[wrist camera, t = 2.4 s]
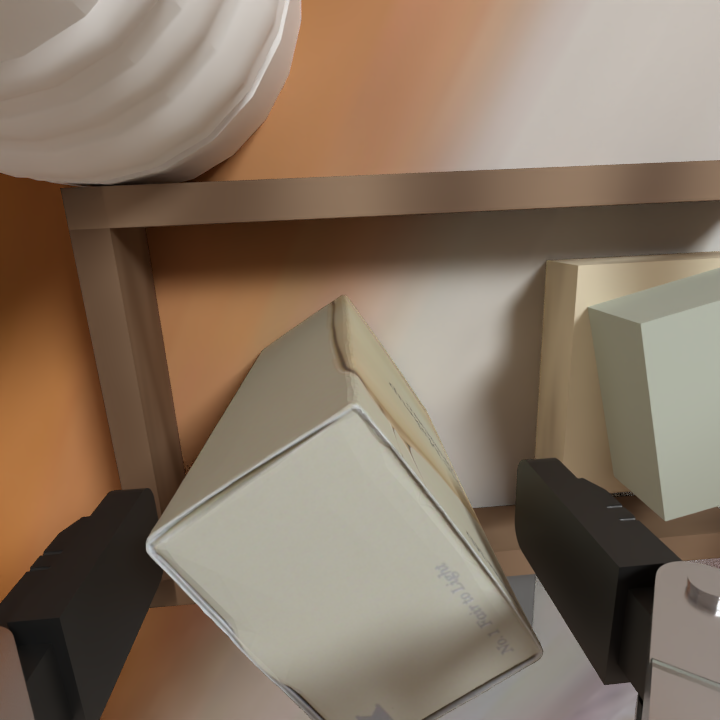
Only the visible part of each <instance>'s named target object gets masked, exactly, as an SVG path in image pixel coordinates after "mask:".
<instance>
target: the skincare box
mask: <svg viewBox="0 0 720 720" xmlns="http://www.w3.org/2000/svg"><path fill="white" fill-rule="evenodd" d="M146 552H147V553H148V554H149V556H150V557H151V558H152V559H153V560H154V561H155V562H156V563H157V564H158V565H159V566H160V567H161V568H162V569H163V570H164V571H165V572H166V573H167V574H168V575H169V576H170V577H171V578H172V579H173V580H174V581H175V582H176V583H177V584H178V585H179V587H180V588H181V589H182V590H183V591H184V592H185V593H186V594H187V595H188V596H189V597H190V598H191V599H192V600H193V601H194V602H195V603H196V604H197V605H198V606H199V607H200V608H201V609H202V610H203V612H204V613H205V614H206V615H207V616H209V617H210V618H211V619H212V620H213V621H214V623H215V624H216V625H217V626H218V627H219V628H220V629H221V630H222V631H223V632H224V633H225V634H226V635H227V636H228V637H229V638H230V639H231V640H232V641H233V642H234V644H235V645H236V646H237V647H238V648H239V649H240V650H241V651H242V652H243V653H244V654H245V655H246V656H247V657H248V658H249V659H250V660H251V661H252V662H253V663H254V664H255V665H256V666H257V667H258V668H259V669H260V670H261V671H262V672H263V673H264V674H265V675H266V676H267V677H268V678H269V679H270V680H271V681H272V682H274V683H275V684H276V685H277V686H278V687H279V688H280V689H281V690H282V691H283V692H284V693H285V694H286V695H287V696H288V697H289V698H290V699H291V700H293V701H294V702H295V703H296V704H297V705H298V707H299V708H301V709H302V710H303V711H304V712H305V713H306V714H307V715H308V716H309V717H310V718H311V719H312V720H436V719H437V718H440V717H442V716H443V715H445V714H447V713H448V712H450V711H452V710H454V709H456V708H457V707H458V706H461V705H463V704H464V703H466V702H468V701H469V700H472V699H474V698H475V697H477V696H479V695H480V694H482V693H484V692H486V691H487V690H489V689H490V688H492V687H493V686H494V685H496V684H498V683H500V682H502V681H503V680H505V679H507V678H509V677H510V676H512V675H514V674H516V673H517V672H519V671H521V670H522V669H524V668H526V667H527V666H529V665H531V664H533V663H535V662H536V661H538V660H539V659H540V658H541V657H542V655H543V649H542V647H541V645H540V642H539V640H538V638H537V637H536V635H535V633H534V631H533V629H532V627H531V625H530V623H529V621H528V619H527V617H526V615H525V613H524V611H523V610H522V608H521V606H520V604H519V602H518V600H517V598H516V596H515V594H514V592H513V590H512V588H511V586H510V584H509V582H508V580H507V578H506V576H505V574H504V572H503V570H502V568H501V566H500V564H499V562H498V560H497V558H496V555H495V553H494V551H493V549H492V547H491V545H490V543H489V541H488V539H487V537H486V535H485V533H484V531H483V529H482V526H481V524H480V522H479V520H478V518H477V516H476V514H475V512H474V510H473V508H472V506H471V504H470V502H469V500H468V498H467V496H466V494H465V491H464V489H463V487H462V485H461V483H460V481H459V479H458V477H457V475H456V473H455V471H454V469H453V466H452V464H451V462H450V460H449V458H448V456H447V454H446V451H445V449H444V447H443V445H442V443H441V441H440V439H439V436H438V434H437V432H436V430H435V428H434V426H433V424H432V422H431V419H430V417H429V415H428V413H427V411H426V409H425V408H424V406H423V405H422V404H421V402H420V401H419V399H418V398H417V396H416V395H415V393H414V392H413V390H412V389H411V387H410V386H409V384H408V383H407V381H406V380H405V378H404V377H403V375H402V374H401V372H400V371H399V369H398V368H397V366H396V365H395V363H394V362H393V361H392V359H391V358H390V356H389V355H388V353H387V352H386V350H385V349H384V348H383V346H382V345H381V343H380V342H379V341H378V339H377V338H376V336H375V335H374V333H373V332H372V331H371V329H370V328H369V326H368V325H367V324H366V322H365V321H364V320H363V318H362V317H361V315H360V314H359V313H358V311H357V310H356V308H355V307H354V306H353V304H352V303H351V301H350V300H349V298H348V297H347V296H346V295H342V296H340V297H339V298H337V299H336V300H334V301H333V302H331V303H330V304H328V305H327V306H325V307H324V308H322V309H321V310H319V311H318V312H316V313H315V314H313V315H312V316H310V317H309V318H307V319H306V320H304V321H303V322H302V323H300V324H299V325H297V326H296V327H294V328H293V329H291V330H290V331H289V332H287V333H286V334H284V335H283V336H281V337H280V338H279V339H277V340H276V341H275V342H273V343H272V344H270V345H269V346H268V347H266V348H265V349H263V350H262V352H261V353H260V355H259V356H258V358H257V360H256V361H255V363H254V365H253V366H252V368H251V369H250V371H249V373H248V375H247V376H246V378H245V379H244V381H243V382H242V384H241V386H240V388H239V389H238V391H237V393H236V394H235V396H234V398H233V399H232V401H231V402H230V404H229V406H228V407H227V409H226V411H225V412H224V414H223V416H222V417H221V419H220V420H219V422H218V424H217V425H216V427H215V429H214V430H213V432H212V434H211V435H210V437H209V439H208V440H207V442H206V444H205V445H204V447H203V448H202V450H201V452H200V453H199V455H198V457H197V458H196V460H195V462H194V464H193V465H192V467H191V468H190V470H189V472H188V473H187V475H186V476H185V478H184V480H183V481H182V483H181V484H180V486H179V488H178V490H177V491H176V493H175V495H174V496H173V498H172V499H171V501H170V502H169V504H168V506H167V507H166V509H165V511H164V512H163V514H162V515H161V517H160V519H159V520H158V522H157V523H156V525H155V526H154V528H153V529H152V531H151V533H150V534H149V536H148V538H147V540H146Z"/></svg>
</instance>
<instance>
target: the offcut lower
mask: <svg viewBox="0 0 720 720" xmlns="http://www.w3.org/2000/svg"><path fill="white" fill-rule="evenodd" d="M716 268H720V252H719V251H714V252H695V253H677V254H658V255H639V256H620V257H601V258H582V259H563V260H547V262H546V278H545V295H544V312H543V328H542V345H541V362H540V378H539V395H538V412H537V428H536V445H535V459H543V458H557V459H558V460H560V461H561V462H562V463H563V464H564V465H565V466H566V467H567V468H568V469H569V470H570V471H571V472H572V473H573V474H574V475H575V476H576V477H577V478H584V479H586V480H588V481H590V482H592V483H594V484H596V485H598V486H600V487H602V488H604V489H605V490H607V491H608V492H609V493H617V492H630V490H629V489H628V488H627V487H625V486H624V485H623V484H622V483H621V482H620V481H619V480H618V479H616V478H615V477H614V474H613V467H612V461H611V454H610V448H609V441H608V435H607V429H606V422H605V416H604V409H603V403H602V396H601V390H600V384H599V377H598V371H597V364H596V358H595V351H594V345H593V338H592V332H591V326H590V319H589V313H588V307H589V306H592V305H596V304H599V303H602V302H606V301H609V300H612V299H616V298H619V297H622V296H626V295H629V294H633V293H636V292H639V291H643V290H646V289H649V288H653V287H656V286H659V285H663V284H666V283H669V282H673V281H676V280H679V279H683V278H686V277H689V276H693V275H696V274H700V273H703V272H706V271H710V270H713V269H716Z"/></svg>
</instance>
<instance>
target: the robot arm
mask: <svg viewBox="0 0 720 720" xmlns="http://www.w3.org/2000/svg"><path fill="white" fill-rule="evenodd" d="M157 522H158V515H157V509H156V504H155V499H154V495H153V492H152V491H151V489H149V488H140V489H127V490H114V491H110V492H109V493H108V494H107V495H106V497H105V498H104V499H103V500H102V502H101V503H100V504H99V505H98V507H97V508H96V509H95V511H94V512H93V513H92V514H91V516H88V517H82V518H80V519H79V520H78V521H76V522H75V523H73V524H72V525H70V526H69V527H68V528H66V529H65V530H63V531H62V532H60V533H59V534H58V535H57V536H56V538H55V539H54V540H53V541H52V542H51V544H50V545H49V546H48V547H47V548H46V550H45V551H44V554H43V555H42V556H40V557H39V558H38V559H37V560H36V561H35V563H34V564H33V565H32V566H31V567H30V572H26V573H25V575H24V576H23V577H22V578H21V579H20V580H19V582H18V583H17V584H16V585H15V586H14V588H13V589H12V590H11V591H10V592H9V594H8V595H7V596H6V597H5V598H4V600H3V601H2V602H1V603H0V720H100V717H101V715H102V713H103V711H104V708H105V706H106V704H107V702H108V699H109V697H110V695H111V693H112V690H113V688H114V686H115V684H116V681H117V679H118V677H119V675H120V672H121V670H122V668H123V666H124V663H125V661H126V659H127V656H128V654H129V652H130V650H131V647H132V645H133V643H134V641H135V638H136V636H137V634H138V632H139V629H140V627H141V625H142V623H143V620H144V618H145V616H146V614H147V611H148V609H149V607H150V605H151V602H152V600H153V598H154V596H155V593H156V591H157V589H158V587H159V584H160V582H161V579H162V575H163V569H162V568H161V567H160V566H159V565H158V564H157V563H156V562H155V561H154V560H153V559H152V558H151V557H150V556H149V554H148V553H147V552H146V540H147V538H148V536H149V534H150V533H151V531H152V529H153V528H154V526H155V525H156V523H157ZM515 532H516V537H517V541H518V544H519V547H520V549H521V551H522V553H523V554H524V556H525V558H526V559H527V561H528V562H529V564H530V566H531V567H532V569H533V570H534V572H535V574H536V575H537V577H538V579H539V580H540V582H541V583H542V585H543V587H544V588H545V590H546V591H547V593H548V595H549V596H550V598H551V600H552V601H553V603H554V604H555V606H556V608H557V609H558V611H559V612H560V614H561V616H562V617H563V619H564V621H565V622H566V624H567V625H568V627H569V629H570V630H571V632H572V633H573V635H574V637H575V638H576V640H577V642H578V643H579V645H580V646H581V648H582V650H583V651H584V653H585V654H586V656H587V658H588V659H589V661H590V663H591V664H592V666H593V667H594V669H595V671H596V672H597V674H598V675H599V677H600V679H601V680H602V682H603V684H604V685H609V684H618V683H627V682H631V684H632V685H633V687H634V688H635V689H636V691H637V692H638V695H637V702H636V708H635V719H634V720H720V569H718V568H715V567H712V566H709V565H705V564H701V563H696V562H689V561H682V560H681V559H680V558H679V557H678V556H677V555H676V554H675V553H674V552H673V551H672V550H670V549H669V548H668V547H667V546H666V545H665V544H664V543H663V542H662V541H661V540H660V539H659V538H658V537H656V536H655V535H654V534H653V533H652V532H651V531H650V530H649V529H648V528H647V527H646V526H645V525H643V524H642V523H641V522H640V521H639V520H636V519H635V516H634V515H633V514H632V513H631V512H629V511H628V510H627V509H626V508H625V507H624V508H623V507H622V504H621V503H620V502H619V501H618V500H616V499H615V498H614V497H613V496H612V495H611V494H610V493H609V492H608V491H607V490H605V489H604V488H602V487H600V486H598V485H596V484H594V483H592V482H590V481H588V480H586V479H584V478H577V477H576V476H575V475H574V474H573V473H572V472H571V471H570V470H569V469H568V468H567V467H566V466H565V465H564V464H563V463H562V462H561V461H560V460H558V459H557V458H543V459H530V460H522V461H520V463H519V465H518V470H517V486H516V504H515Z"/></svg>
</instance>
